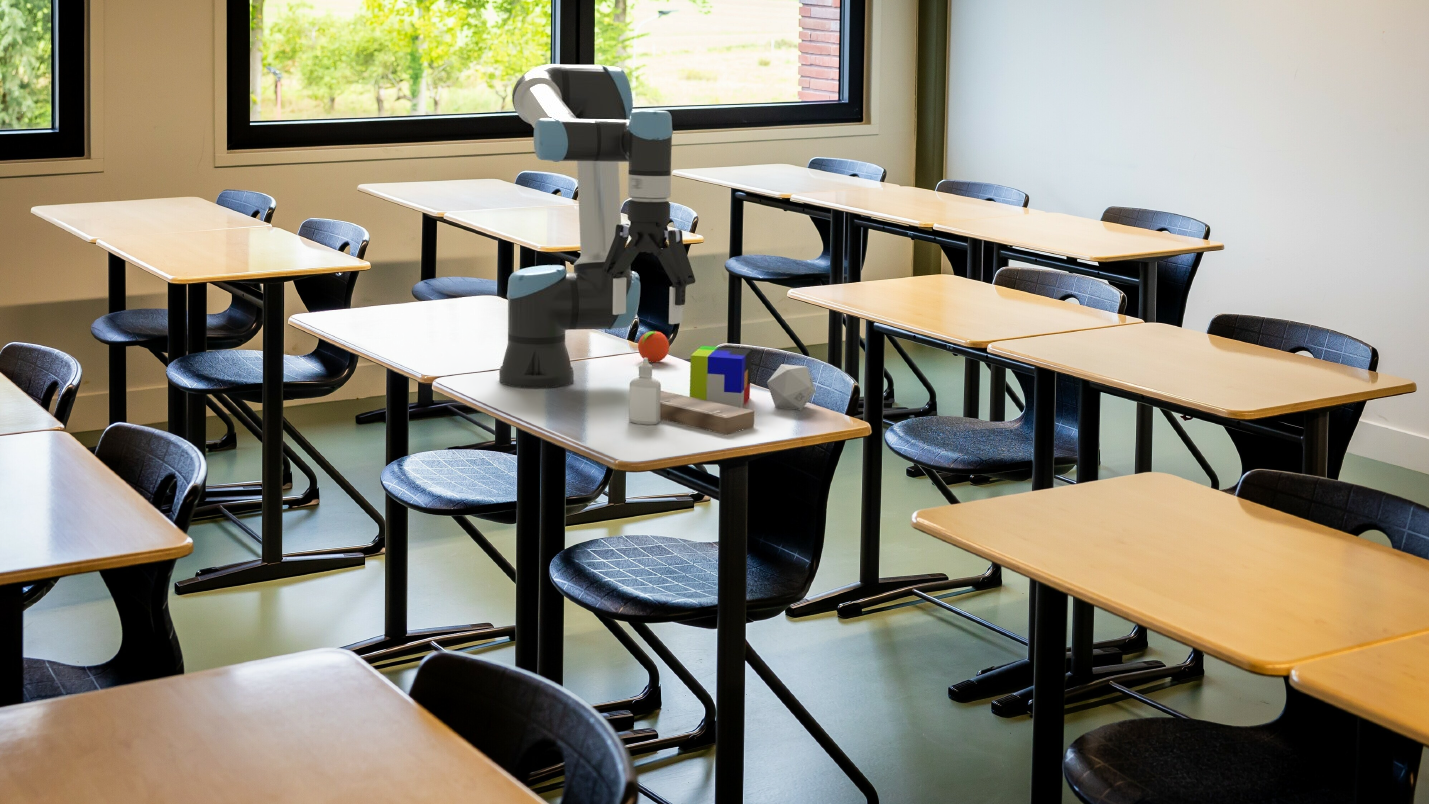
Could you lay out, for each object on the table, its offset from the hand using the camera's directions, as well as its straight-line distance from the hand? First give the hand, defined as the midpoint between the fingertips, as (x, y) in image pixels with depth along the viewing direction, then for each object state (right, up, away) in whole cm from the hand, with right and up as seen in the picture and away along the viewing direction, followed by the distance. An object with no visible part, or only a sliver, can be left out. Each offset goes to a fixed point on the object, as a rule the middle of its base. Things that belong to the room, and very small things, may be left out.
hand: (646, 318), depth 253 cm
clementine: (-2, -6, +58) cm, 59 cm away
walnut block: (+8, -18, +8) cm, 21 cm away
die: (+27, -16, +20) cm, 37 cm away
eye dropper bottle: (-1, -19, +5) cm, 20 cm away
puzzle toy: (+13, -15, +23) cm, 30 cm away
